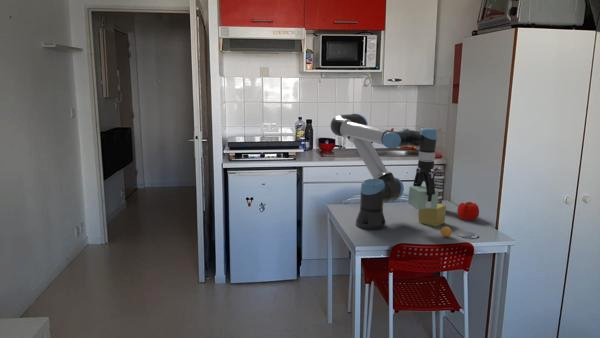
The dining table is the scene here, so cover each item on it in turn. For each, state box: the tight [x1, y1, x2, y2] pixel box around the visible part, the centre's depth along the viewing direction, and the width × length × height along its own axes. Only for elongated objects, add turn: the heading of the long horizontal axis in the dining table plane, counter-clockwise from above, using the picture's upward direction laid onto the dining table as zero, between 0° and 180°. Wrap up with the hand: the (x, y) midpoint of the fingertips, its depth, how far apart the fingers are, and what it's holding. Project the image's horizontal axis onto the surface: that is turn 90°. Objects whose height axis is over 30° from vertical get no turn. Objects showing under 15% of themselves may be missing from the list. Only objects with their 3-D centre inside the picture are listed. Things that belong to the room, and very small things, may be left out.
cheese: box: [418, 203, 447, 227], centre depth 238 cm, size 10×11×10 cm
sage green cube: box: [407, 185, 439, 210], centre depth 223 cm, size 10×10×9 cm
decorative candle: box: [431, 166, 446, 204], centre depth 262 cm, size 9×9×25 cm
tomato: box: [456, 201, 480, 221], centre depth 246 cm, size 11×12×9 cm
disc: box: [456, 231, 476, 240], centre depth 221 cm, size 10×10×1 cm
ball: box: [440, 226, 452, 238], centre depth 217 cm, size 5×5×5 cm
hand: (422, 204), depth 223 cm, fingers closed on sage green cube, 10 cm apart
